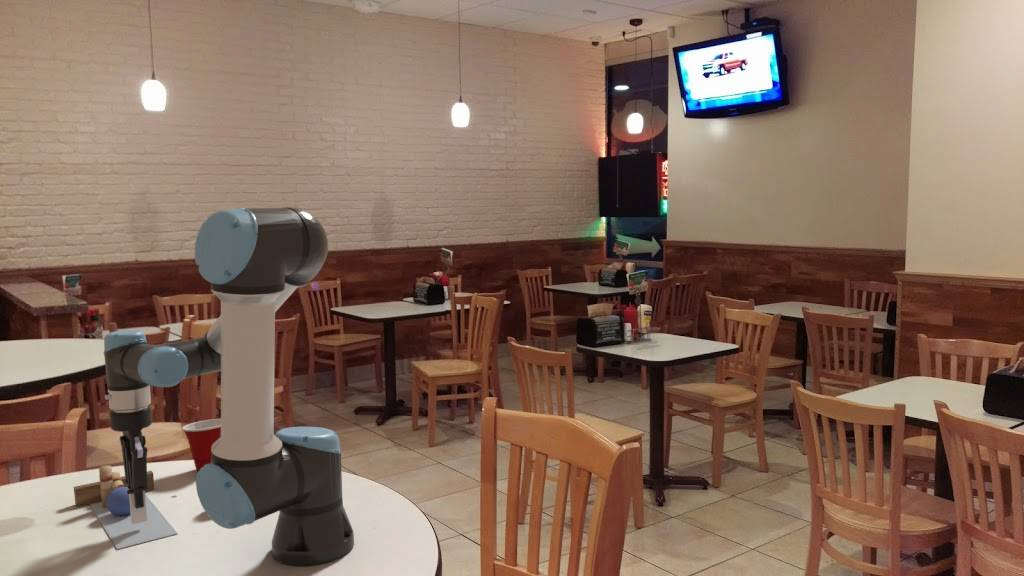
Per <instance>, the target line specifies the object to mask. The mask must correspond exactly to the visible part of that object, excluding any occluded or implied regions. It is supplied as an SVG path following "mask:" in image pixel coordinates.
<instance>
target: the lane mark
mask: <svg viewBox="0 0 1024 576" xmlns="http://www.w3.org/2000/svg"><path fill="white" fill-rule="evenodd" d="M145 498H146V511H147V521H145V522H141V523H137V524H132V523H131V514H130V513H129V514H127V515H124V516H117V515H114V514H112V513H111V512H110V511H109V510H108V508H102V501H101V502H96V503H92V504H89V506H90V507H91V510H92V511H93V512H94V515H95V516H96V517H97V519H98V520H99V522H100V524H101V525H102V527H103V529H104V530H105V532H106V534H107V536H109V538H110V540H111V542H112V543H113V546H114V547H115V549H116V550H117V551H118V550H122V549H126V548H130V547H133V546H138V545H141V544H145V543H149V542H153V541H156V540H159V539H161V540H162V539H164V538H168V537H173V536H176V535H178V532H177V531H176V530H175V528H174V527H173V526H172V525H171V523H170V522H169V521H168V519H166V517H165V516H164V515H163V513H162V512H161V511H160V510H159V509H158V507H156V505H155V504H154V503H153V501H151V499H150V498H149V497H148V496H147V495H146V494H145Z"/></svg>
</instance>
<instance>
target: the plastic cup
mask: <svg viewBox="0 0 1024 576" xmlns="http://www.w3.org/2000/svg"><path fill="white" fill-rule="evenodd" d="M181 429H182V431H183V432H184V434H185V436H186V439H187V442H188V445H189V448H190V452H191V456H192V459H193V462H194V466H195V470H196V473H198V472H199V471H200V469H201V468H202V467H204V465H207V464H210V463H211V447H212V445H213V444H214V443H215V442H216V441H217V440H218V439H219V438H220V437H221V418H214V419H213V418H212V419H205V420H200V421H199V420H198V421H195V422H191V423H188V424H186V425H184V426H182V428H181Z"/></svg>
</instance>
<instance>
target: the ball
mask: <svg viewBox="0 0 1024 576" xmlns="http://www.w3.org/2000/svg"><path fill="white" fill-rule="evenodd" d="M127 490H129V489H128V487H119V488H117V489H115V490H113V491H112V492H111V493H110V494H109V496H108V498H107V508H108V510H109V511H110V512H111V513H112V514H114V515H117V516H124V515H127V514H129V513H130V501H129V494H127Z"/></svg>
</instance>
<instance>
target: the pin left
mask: <svg viewBox="0 0 1024 576" xmlns="http://www.w3.org/2000/svg"><path fill="white" fill-rule="evenodd" d="M112 469H113V468H112V465H107V464H106V465H103V466H99V468H98V470H99V475H98V477H99V481H100V486H101V497H102V501H101V502H102V508H107V498H108V496H109V494H110V493H111V492H112V491H113V480H112V479H113V477H112V472H113V470H112Z"/></svg>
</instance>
